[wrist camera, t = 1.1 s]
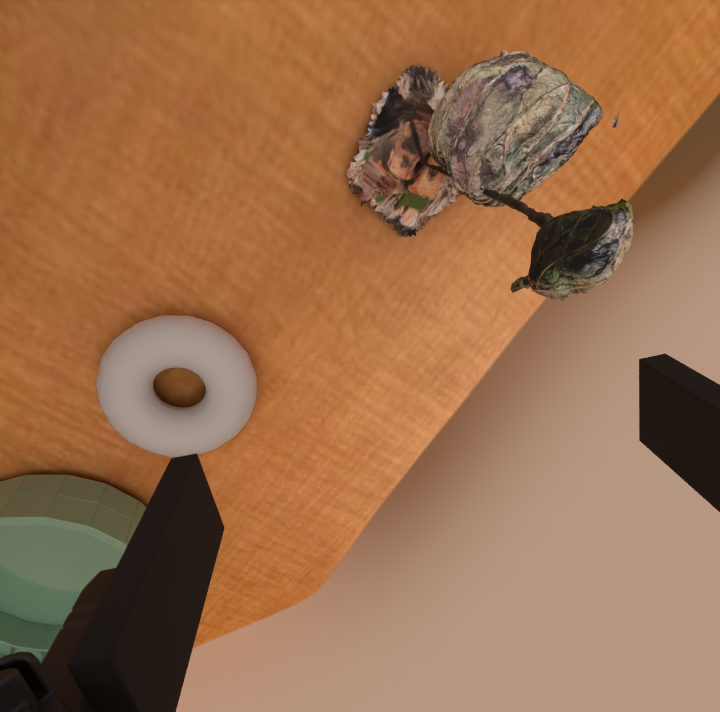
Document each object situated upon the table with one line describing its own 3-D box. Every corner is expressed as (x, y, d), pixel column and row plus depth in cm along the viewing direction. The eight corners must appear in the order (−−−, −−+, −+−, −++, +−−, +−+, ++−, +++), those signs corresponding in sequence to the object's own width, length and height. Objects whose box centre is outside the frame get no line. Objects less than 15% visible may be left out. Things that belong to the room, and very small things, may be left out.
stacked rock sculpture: (534, 136, 33) (862, 151, 15) (393, 251, 34) (536, 391, 16) (468, 14, 29) (789, -159, 11) (314, 146, 31) (385, 178, 13)
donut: (247, 444, 39) (268, 319, 35) (245, 473, 35) (268, 340, 32) (101, 430, 36) (107, 294, 32) (86, 460, 33) (90, 314, 29)
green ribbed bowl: (-105, 582, 38) (-155, 643, 34) (16, 428, 35) (-21, 473, 30) (99, 659, 44) (81, 719, 40) (218, 535, 41) (212, 586, 37)
